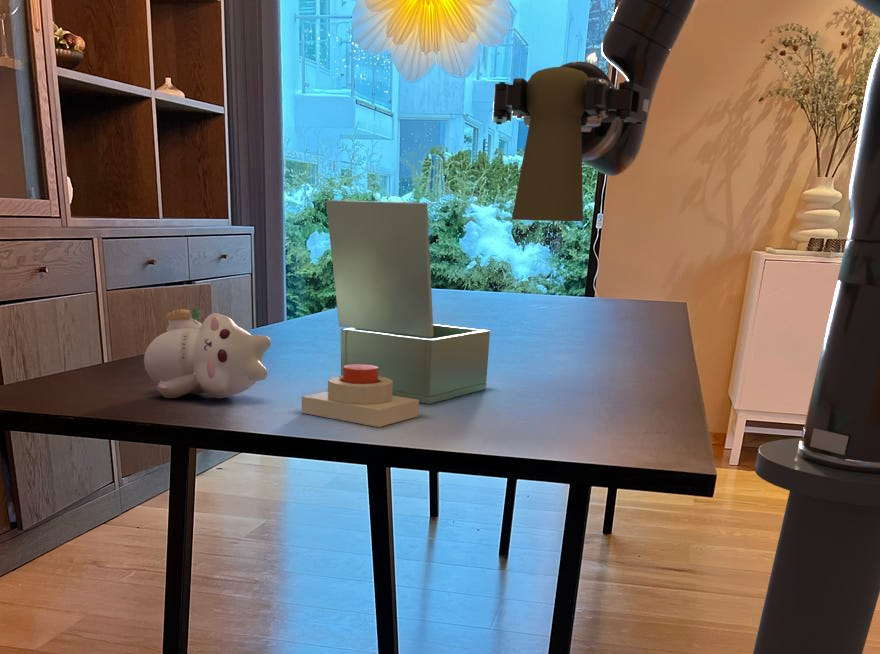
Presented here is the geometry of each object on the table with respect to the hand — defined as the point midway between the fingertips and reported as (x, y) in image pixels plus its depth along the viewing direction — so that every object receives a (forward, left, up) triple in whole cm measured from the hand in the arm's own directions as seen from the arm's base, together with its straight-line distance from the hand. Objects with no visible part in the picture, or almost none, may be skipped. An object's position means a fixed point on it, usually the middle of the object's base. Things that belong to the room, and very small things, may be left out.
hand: (553, 93), depth 70 cm
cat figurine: (+38, +3, -28) cm, 47 cm away
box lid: (+24, -10, -14) cm, 30 cm away
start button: (+20, -1, -25) cm, 32 cm away
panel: (+20, -1, -28) cm, 34 cm away
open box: (+24, -17, -28) cm, 41 cm away
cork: (+1, -2, -9) cm, 10 cm away
